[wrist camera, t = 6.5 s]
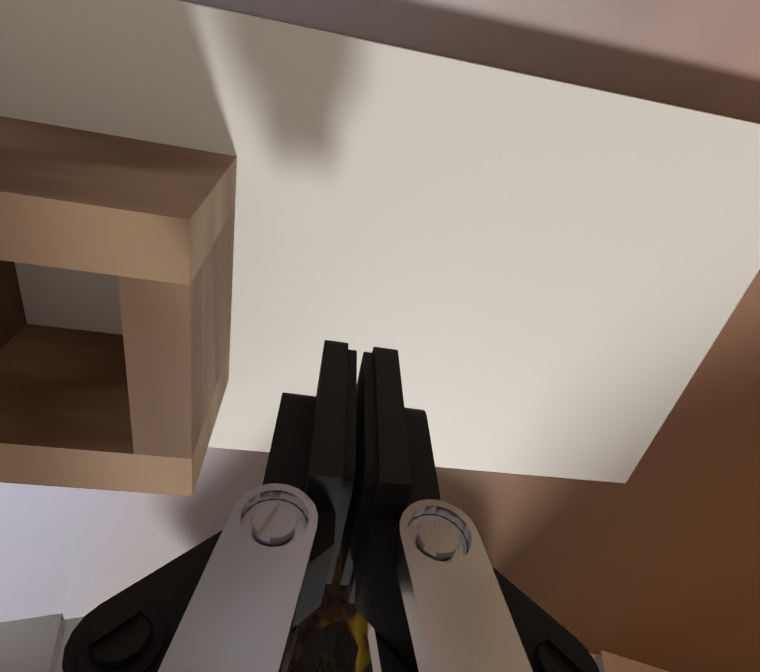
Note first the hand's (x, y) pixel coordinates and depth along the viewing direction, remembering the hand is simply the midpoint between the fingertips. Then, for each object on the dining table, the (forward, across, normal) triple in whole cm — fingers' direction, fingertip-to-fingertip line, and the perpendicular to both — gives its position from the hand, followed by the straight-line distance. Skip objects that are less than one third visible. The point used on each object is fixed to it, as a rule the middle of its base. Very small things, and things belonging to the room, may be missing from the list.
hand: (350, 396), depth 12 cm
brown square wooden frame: (+5, +8, 0) cm, 9 cm away
